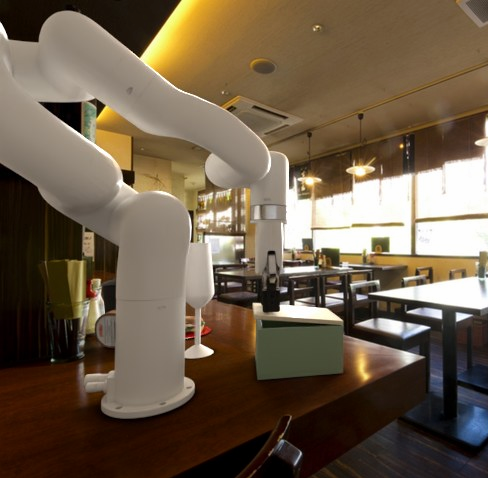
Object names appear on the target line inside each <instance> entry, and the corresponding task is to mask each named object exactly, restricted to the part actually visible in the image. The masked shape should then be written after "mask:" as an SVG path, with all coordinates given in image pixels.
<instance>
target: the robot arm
mask: <svg viewBox="0 0 488 478" xmlns="http://www.w3.org/2000/svg"><path fill="white" fill-rule="evenodd" d="M95 99H96V100H98V101H99V102H101V103H102V104H103V105H104V106H106V107H108V108H109V109H111V110H112V111H113V112H115V113H116V114H118V115H119V116H120V117H122V118H123V119H125V120H126V121H128V122H129V123H130V124H132V125H133V126H135V127H136V128H138V129H139V130H140V131H142V132H143V133H146V134H150V135H154V136H157V137H166V138H176V139H180V140H185V141H187V142H190V143H193V144H195V145H197V146H198V147H201V148H203V149H205V150H207V151H208V152H210V154H209V156H208V157H207V158H206V160H205V163H204V171H205V176H206V177H207V179H208V180H209V181H210V182H211V183H212V184H213V185H215V186H217V187H218V188H222V189H225V190H226V189H227V190H230V189H231V190H232V189H233V190H234V189H235V190H236V189H249V205H250V206H249V222H250V225H255V228H254V229H255V231H254V273H255V274H256V275H257V276H260V274H261V285H260V303H261V305H262V310H263V312H264V313H266V312H279V311H280V305H281V290H280V277H279V276H280V275H281V274H283V268H284V225H289V224H290V203H289V202H290V198H289V197H290V196H289V195H290V190H289V189H290V186H289V185H290V181H289V179H290V177H289V175H290V174H289V171H290V166H289V165H290V164H289V159H288V157H287V156H286V155H285V154H284V153H282V152H279V151H275V150H269V148H268V147H267V145H266V144H265V143H264V141H263V140H262V139H261V138H260V136H258V135H257V134H256V133H255V132H254V131H253V130H252V129H251V128H250V127H249V126H247V124H245V122H243V121H242V120H240V118H238V117H237V116H235V114H233V113H231V112H230V111H228V110H227V109H225V108H223V107H221V106H220V105H217V104H215V103H213V102H210V101H208V100H206V99H204V98H201V97H199V96H197V95H194V94H191V93H188V92H185V91H183V90H181V89H179V88H178V87H176V86H174V85H173V84H172V83H170V82H169V81H168V80H167V79H165V78H164V77H163V76H162V75H161V74H159V72H157V71H156V70H154V69H153V68H152V67H151V66H149V65H148V64H147V63H146V62H145V61H143V60H142V59H141V58H140V57H138V56H137V55H136V54H135V53H133V51H131V50H130V49H129V48H128V47H127V46H125V45H124V44H123V43H122V42H121V41H119V40H118V39H117V38H115V36H113V35H112V34H111V33H109V32H108V31H107V30H106V29H104V28H103V27H102V26H101V25H100V24H98V23H97V22H95V20H93V19H91V18H90V17H88V16H87V15H86V14H85V15H84V14H82V13H80V12H78V11H73V10H62V11H57V12H55V13H53V14H51V15H50V16H49V17H48V18H47V19H46V20H45V21H44V23H43V24H42V26H41V29H40V32H39V36H38V42H37V41H36V42H35V41H22V40H14V39H9V38H8V35H7V33H6V30H5V28H4V26H3V24H2V23H1V21H0V164H1V165H3V166H4V167H6V168H7V169H9V170H11V171H13V172H14V173H16V174H18V175H19V176H21V177H22V178H24V179H25V180H27V181H29V182H30V183H32V184H33V185H34V186H36V187H37V189H38V192H39V194H40V195H41V197H42V198H43V200H45V202H47V204H49V206H51V207H53V209H55V210H56V211H58V212H60V213H61V214H63V215H64V216H66V217H67V218H70V219H71V220H73V221H74V222H76V223H78V224H79V225H80V226H81V225H82V226H83V227H85V228H86V229H88V230H90V231H92V232H93V233H94V234H96V235H98V236H100V237H102V238H104V239H105V240H107V241H108V242H111V243H112V244H114V245H116V246H117V247H118V253H117V254H118V255H117V256H118V257H117V263H116V264H117V265H116V277H115V278H116V334H115V348H114V370H110V371H109V372H108V373H89V374H88V373H87V374H86V375H85V376H84V378H83V381H82V386H83V389H84V392H85V393H86V394H89V393H91V394H92V393H97V392H102V393H103V394H104V395H103V396H102V397H101V400H100V401H101V402H100V410H101V412H102V413H103V414H104V415H106V416H108V417H111V418H115V419H121V420H122V419H123V420H130V419H132V420H133V419H134V420H135V419H143V418H148V417H153V416H158V415H161V414H165V413H167V412H171V411H173V410H175V409H178V408H180V407H182V406H183V405H184V404H186V403H188V401H190V400H191V399H192V398H193V396H194V394H195V390H196V386H195V382H194V380H192V379H191V378H189V377H186V376H185V366H186V365H185V363H186V358H185V351H186V338H185V316H186V311H187V309H186V307H187V306H186V304H187V302H186V268H187V258H188V252H189V246H190V243H191V239H192V219H191V215H190V213H189V210H188V209H187V207H186V205H185V204H184V203H183V202H182V201H181V200H180V199H179V198H177V197H176V196H175V195H174V194H171V193H169V192H165V191H162V190H147V191H142V192H138V191H137V190H136V189H134V188H132V187H131V186H130V185H128V184H126V183H125V182H124V177H123V171H122V169H121V167H120V165H119V163H118V162H117V161H116V160H115V158H114V157H113V156H111V154H109V153H108V152H107V151H106V150H104V149H103V148H100V147H99V146H98V145H96V144H95V143H94V142H92V141H91V140H89V139H87V138H86V137H85V136H83V135H82V134H81V133H80V132H78V131H77V130H75V129H74V128H73V127H71V126H69V125H68V124H67V123H65V122H64V121H63V120H61V119H60V118H58V116H56V115H54V114H53V113H52V112H51V111H49V110H48V109H47V108H45V106H43V105H42V104H41V103H81V102H88V101H92V100H95ZM263 287H264V290H262V288H263Z"/></svg>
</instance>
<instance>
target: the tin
mask: <svg viewBox="0 0 488 478" xmlns="http://www.w3.org/2000/svg"><path fill="white" fill-rule="evenodd" d="M115 334H116V310H112V311H109V312H107V313H105V312H104V313H103V314H101V315H100V316H99V317H98V318H97V319H96V320H95V322H94V336H95V339H96V341H97V342H98V343H99V344H100V345H101V346H103V347H104V348H109V349H115Z"/></svg>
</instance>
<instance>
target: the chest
mask: <svg viewBox="0 0 488 478" xmlns="http://www.w3.org/2000/svg"><path fill="white" fill-rule="evenodd" d="M254 336H255V341H254V342H255V344H254V347H255V348H254V349H255V350H254V352H255V353H254V358H255V367H256V379H257V381H263V380H277V379H289V378H300V377H311V376H324V375H325V376H326V375H336V374H344V324H343V325H334V324H319V323H304V322H288V321H273V320H258V319H255V335H254Z"/></svg>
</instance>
